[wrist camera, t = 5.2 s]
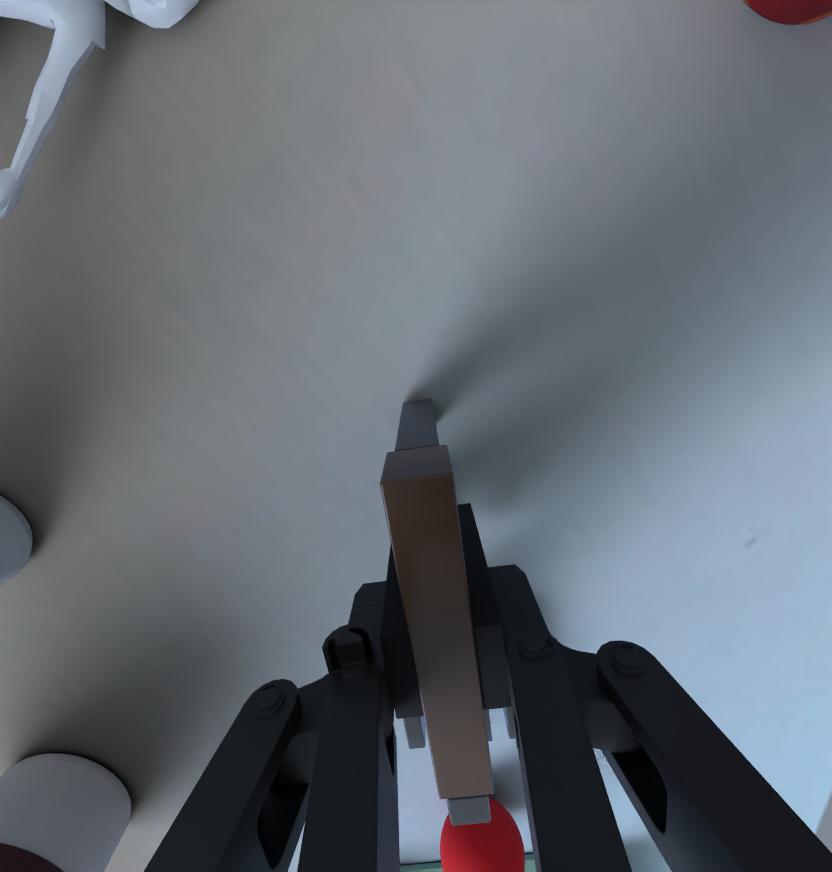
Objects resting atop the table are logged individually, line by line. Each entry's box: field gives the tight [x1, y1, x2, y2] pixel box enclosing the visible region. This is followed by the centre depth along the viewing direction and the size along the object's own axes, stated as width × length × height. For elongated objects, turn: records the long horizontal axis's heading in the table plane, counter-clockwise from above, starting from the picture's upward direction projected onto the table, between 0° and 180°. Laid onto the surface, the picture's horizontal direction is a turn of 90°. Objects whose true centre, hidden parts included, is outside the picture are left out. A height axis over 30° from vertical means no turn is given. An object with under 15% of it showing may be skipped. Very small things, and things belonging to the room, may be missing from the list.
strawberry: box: [440, 797, 525, 872], centre depth 21 cm, size 4×4×4 cm
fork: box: [380, 399, 516, 826], centre depth 15 cm, size 16×6×8 cm, turn 8°
